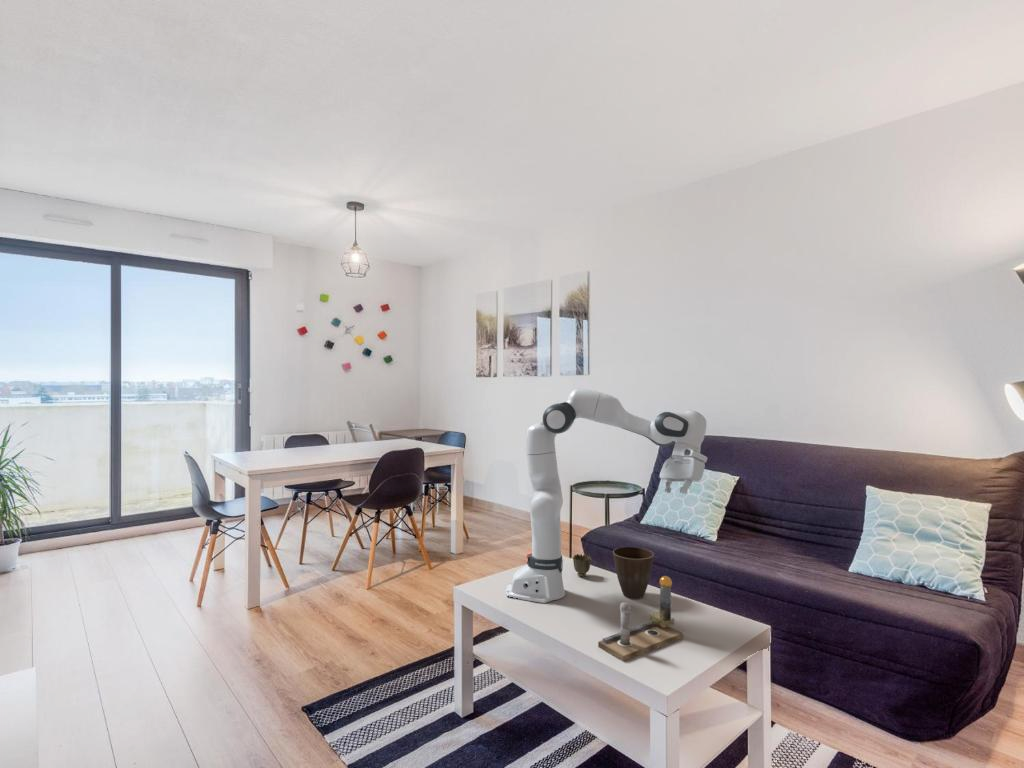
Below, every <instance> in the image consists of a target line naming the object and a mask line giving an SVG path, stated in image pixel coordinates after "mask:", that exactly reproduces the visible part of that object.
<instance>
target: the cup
mask: <svg viewBox="0 0 1024 768" xmlns="http://www.w3.org/2000/svg"><path fill="white" fill-rule="evenodd" d="M572 561H573V562H572V563H573V568H574V570H575V572H576V574H577V576H578V577H579V576H582V577H581V578H584V577H583V576H585V577H586V576H587V573H588V572H589V571H590V568H591V561H592V557H591V556H590V555H587V554H582V553H581V554H579V553H577V554H574V555H573V556H572Z"/></svg>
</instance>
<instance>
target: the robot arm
mask: <svg viewBox="0 0 1024 768" xmlns="http://www.w3.org/2000/svg"><path fill="white" fill-rule="evenodd" d="M579 418H580V419H585V420H586V419H587V420H589V421H592V422H597V423H600V424H604V425H608V426H612V427H617V428H620V429H623V430H626V431H628V432H630V433H633V434H637V435H640V436H641V437H642V436H643V437H645V438H646V439H648V440H649V441H651V442H652V443H653V444H655V445H656V446H659V447H668V446H671V445H672V444H674V447H673V449H672V452H671V453H672V454H671V456H669V458H667V459H666V460H664V463H663V464H662V467H661V469H660V472H659V479H661V480H662V481H664V490H663V492H664V493H665V494H669V493H671V491H672V488H671V485H672V483H673V482H681V483H683V482H684V483H683V484H682V486H680V490H679V493H681V494H687V493H688V490H689V489H690V487H691V486H692V484H693V483H695V482H696V483H697V482H700V481H701V480H702V478H703V475H704V472H705V468H706V465H705V463H707V461H708V456H705V455H704V454H702V453H701V450H702V449H701V447H702V443H703V441H704V440H705V436H706V431H707V419H706V417H705V416H703V414H701V413H700V412H698V411H694V410H686V411H683V412H671V411H663V412H661V413H659V414H658V415H657V416H656V417H655V419H654V420H650V419H646V418H643V417H640V416H638V415H634V414H632V413H630V412H628V410H626V409H625V407H624V406H623V405H622V403H621V401H620V400H619V399H618V398H617V397H615V396H612V395H610V394H608V393H604V392H601V391H597V390H593V389H586V388H575V389H573V390H572V391H571V392H570V394H569V395H568V397H567V400H566V401H564V402H560V403H559V402H557V403H553V404H551V405H550V406H548V407H547V408H546V409H545V410H544V412H543V414H542V421H541V422H538V423H534V424H532V425H530V426H529V427H528V428H527V430H526V439H525V449H526V450H525V453H526V459H527V460H526V461H527V467H528V470H527V471H528V477H529V479H530V483H531V487H532V494H533V497H532V499H531V501H530V502H529V503H530V504H529V511H530V513H529V514H530V515H529V516H530V529H531V551H528V553H527V554H526V564H525V565H523V566H521V568H519V569H518V570H517V571H515V573H514V574H513V576H512V580H511V583H509V584H508V585H507V586H506V588H505V592H504V594H506V595H507V596H509V597H508V598H510V597H513V598H512V599H516V598H518V599H517V600H523V601H530V602H535V603H541V604H546V603H549V602H552V601H555V600H560V599H562V598H564V597H565V596H566V591H565V586H564V581H563V573H562V572H563V566H564V563H563V561H564V560H563V554H562V530H561V527H562V525H561V510H562V507H563V502H564V501H563V500H564V497H563V492H562V486H561V481H560V476H559V475H560V474H559V471H558V470H559V469H558V461H557V452H556V444H555V443H556V442H555V440H556V437H557V435H558V434H559V435H560V434H563V433H565V432H567V431H569V429H571V427H572V425H573V424H574V422H575V420H576V419H579ZM506 595H505V596H506ZM507 596H506V597H507Z"/></svg>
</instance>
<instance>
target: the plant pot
mask: <svg viewBox="0 0 1024 768" xmlns="http://www.w3.org/2000/svg"><path fill="white" fill-rule="evenodd" d="M612 554H613V555H612V556H613V560H614V561H613V562H614V568H615V572H616V575H617V576H616V577H617V580H618V584H619V585H620V589H621V592H622V595H623V597H625V598H627V599H630V600H641V599H643V598H644V596H645V594H646V591H647V588H648V585H649V582H650V580H651V579H650V578H651V574H652V569H653V564H654V558H655V557H654V556H655V553H654V552H653V551H651V550H649V549H647V548H643V547H636V546H622V547H616V548H614V549H613V550H612Z"/></svg>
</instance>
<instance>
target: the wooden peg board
mask: <svg viewBox="0 0 1024 768" xmlns="http://www.w3.org/2000/svg"><path fill="white" fill-rule="evenodd" d="M619 610H620V632H618V633H615V634H613V635H609V636H606V637H603V638H602V640H598V642H597V644H598V645H597V647H598V648H600V649H602V650H603V651H604V652H606V653H608V654H610V655H611V656H613V657H615V658H616V659H618V660H620V661H622V662H626V661H628V660H630V659H633V658H635V657H638V656H640V655H643V654H646V653H647V652H650V651H653V650H656V649H658V648H661V647H664V646H666V645H668V644H670V643H673V642H675V641H678V640H681V639H683V638H684V634H683V633H684V632H682V631H680V630H678V629H676V628H674V627H672V626H668V627H662V626H660V625H658V624H656V623H654V622H652V621H650V622H647V623H644V624H640V625H638V626H636V627H633V628H630V626H631V625H630V624H631V620H630V619H631V610H632V608H631V605H630V604H629V602H626V601H622V602H621V603H620V605H619Z"/></svg>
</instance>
